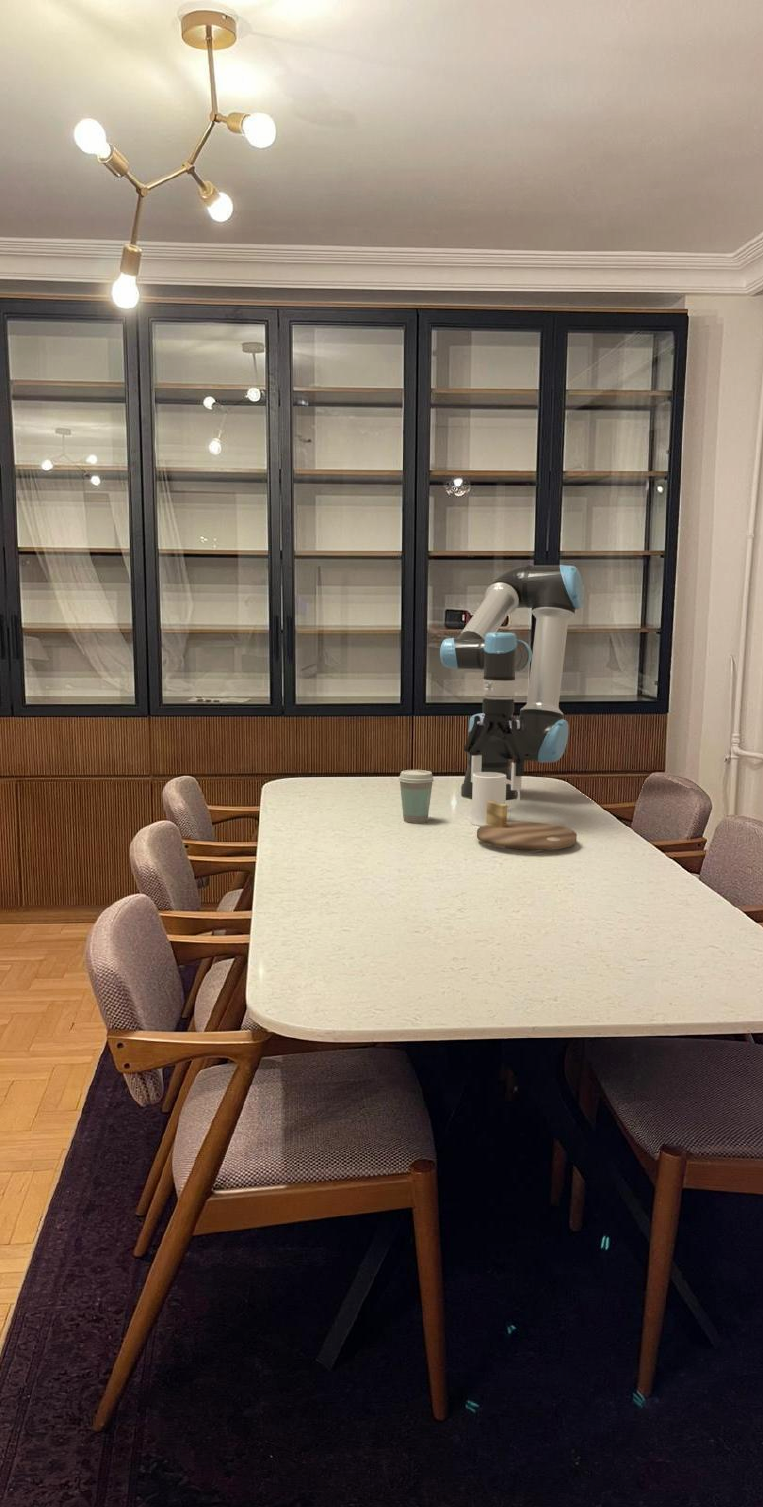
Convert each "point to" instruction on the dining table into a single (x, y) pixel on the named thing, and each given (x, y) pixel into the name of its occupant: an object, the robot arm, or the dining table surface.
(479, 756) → the robot arm
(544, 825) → the turntable
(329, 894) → the dining table surface
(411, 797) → the coffee cup
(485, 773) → the mug
